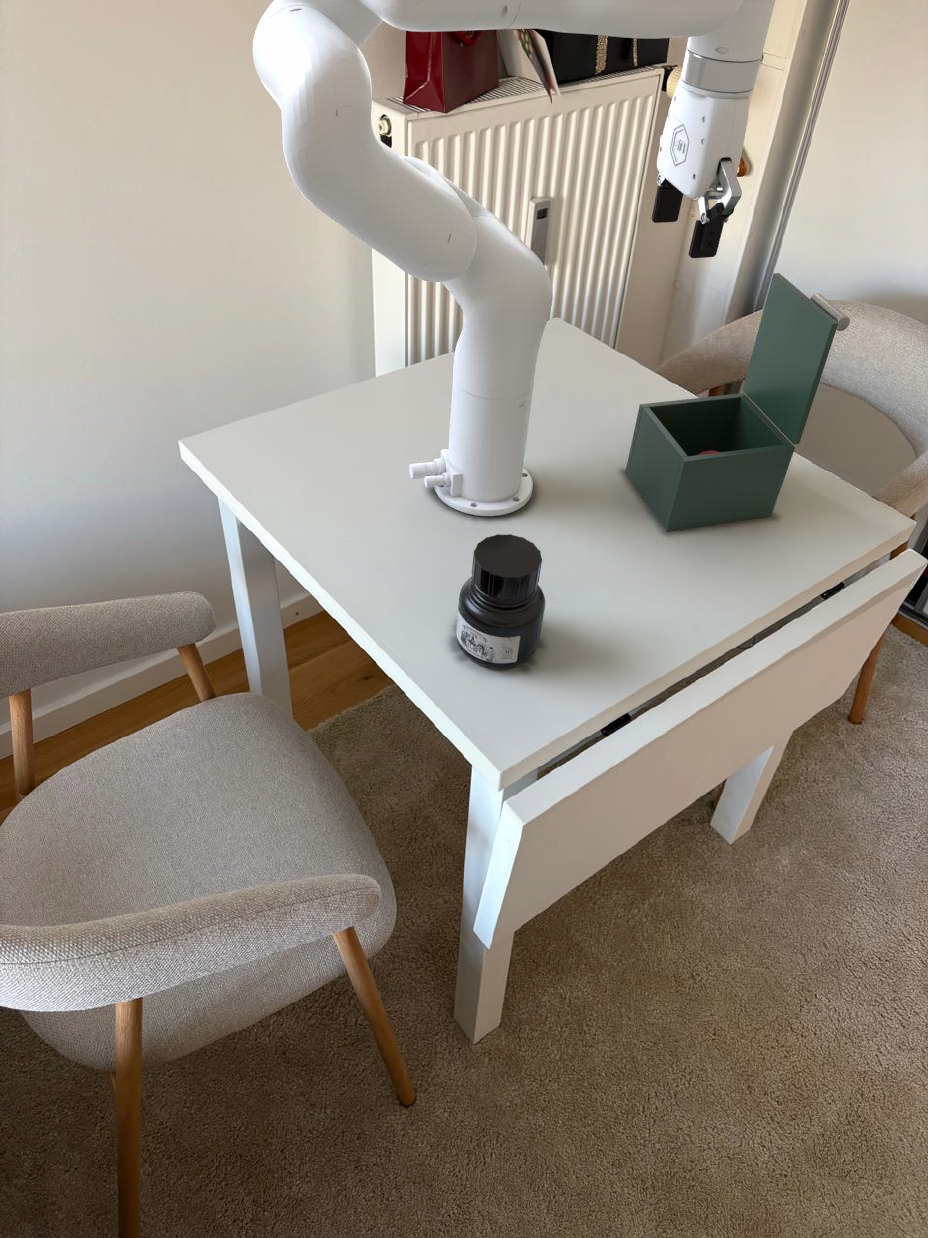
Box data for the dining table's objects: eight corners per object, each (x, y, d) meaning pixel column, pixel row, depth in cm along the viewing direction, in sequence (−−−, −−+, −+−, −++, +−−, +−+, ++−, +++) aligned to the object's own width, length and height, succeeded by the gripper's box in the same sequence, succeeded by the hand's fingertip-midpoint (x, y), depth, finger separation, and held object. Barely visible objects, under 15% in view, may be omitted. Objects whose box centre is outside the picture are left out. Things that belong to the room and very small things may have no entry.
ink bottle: (436, 635, 106) (441, 549, 98) (493, 600, 110) (503, 514, 102) (501, 686, 101) (512, 599, 93) (558, 646, 106) (574, 561, 98)
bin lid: (832, 323, 107) (873, 319, 108) (773, 273, 116) (811, 269, 117) (793, 444, 118) (831, 439, 119) (742, 389, 127) (777, 385, 128)
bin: (666, 531, 122) (684, 461, 115) (624, 472, 131) (639, 403, 123) (771, 516, 126) (795, 447, 118) (723, 460, 134) (743, 392, 127)
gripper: (650, 48, 105) (622, 210, 117) (726, 99, 94) (686, 273, 105) (713, 48, 107) (679, 207, 119) (795, 98, 95) (748, 269, 107)
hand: (682, 238), depth 112 cm, fingers open, 9 cm apart
